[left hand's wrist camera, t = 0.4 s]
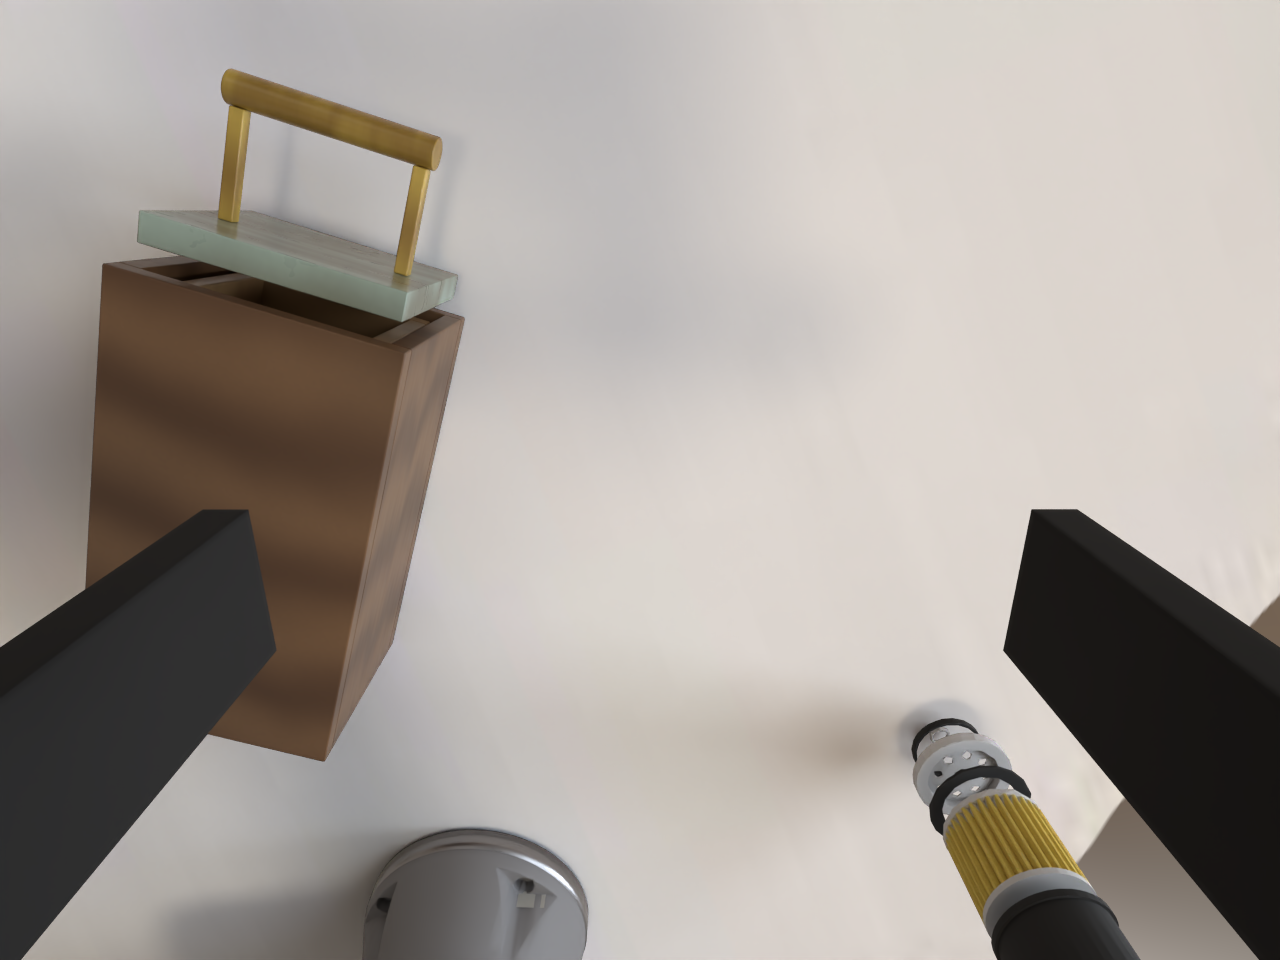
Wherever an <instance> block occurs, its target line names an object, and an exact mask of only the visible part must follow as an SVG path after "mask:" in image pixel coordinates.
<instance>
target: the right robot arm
mask: <svg viewBox="0 0 1280 960" xmlns="http://www.w3.org/2000/svg"><path fill="white" fill-rule="evenodd" d="M587 925H588V906H587V901H586V897H585V894H584V892H583V889H582V887H581V885H580V883H579V882H578V880H577V879H576V877H575V876H574V874H573V873H572V872H571V871H570V869H569V868H568V867H567V866H566V865H565V864H564V863H563V862H562V861H560V860H559V859H558V858H557V857H556V856H554V855H553V854H551V853H550V852H548V851H547V850H545V849H543V848H542V847H540V846H538V845H536V844H534V843H532V842H530V841H527V840H525V839H522V838H519V837H516V836H513V835H509V834H505V833H500V832H494V831H486V830H459V831H451V832H445V833H440V834H437V835H433V836H430V837H427V838H424V839H422V840H420V841H417V842H415V843H413V844H411V845H410V846H408V847H406V848H405V849H403V850H402V851H401V852H399V853H398V854H397V855H396V856H395V857H394V858H393V859H391V860H390V862H389V863H388V864H387V865H386V866H385V868H384V869H383V871H382V872H381V874H380V876H379V878H378V880H377V882H376V885H375V887H374V890H373V892H372V895H371V897H370V900H369V903H368V906H367V910H366V915H365V923H364V939H363V960H582V956H583V953H584V950H585V946H586V939H587Z"/></svg>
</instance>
